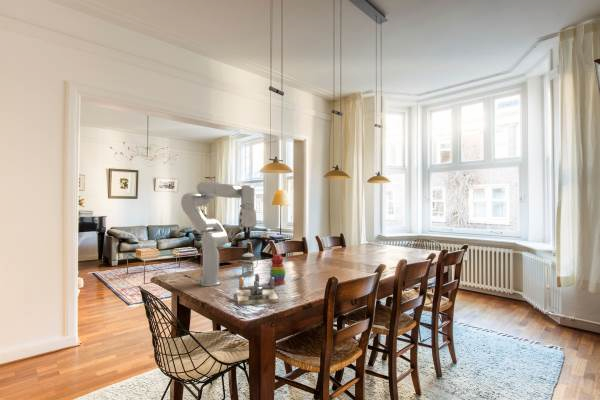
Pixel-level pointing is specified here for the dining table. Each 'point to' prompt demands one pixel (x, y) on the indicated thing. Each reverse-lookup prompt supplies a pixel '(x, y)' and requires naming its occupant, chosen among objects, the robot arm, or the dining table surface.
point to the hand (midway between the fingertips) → (246, 238)
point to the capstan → (256, 286)
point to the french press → (248, 273)
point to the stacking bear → (277, 270)
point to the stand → (256, 297)
